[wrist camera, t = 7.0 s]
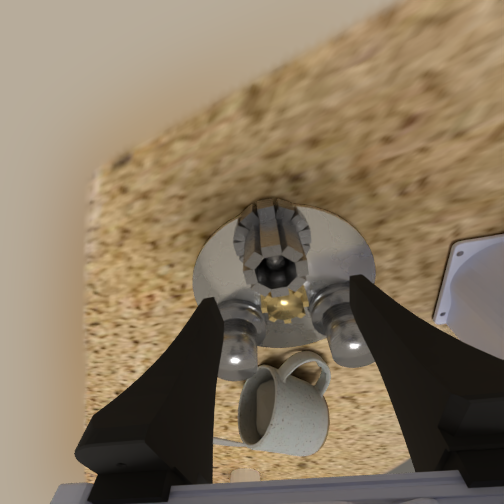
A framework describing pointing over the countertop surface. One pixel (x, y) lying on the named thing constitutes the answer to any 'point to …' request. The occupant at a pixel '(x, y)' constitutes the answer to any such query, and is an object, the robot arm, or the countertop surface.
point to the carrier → (291, 306)
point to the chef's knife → (226, 442)
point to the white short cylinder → (244, 475)
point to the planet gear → (273, 246)
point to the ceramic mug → (285, 409)
